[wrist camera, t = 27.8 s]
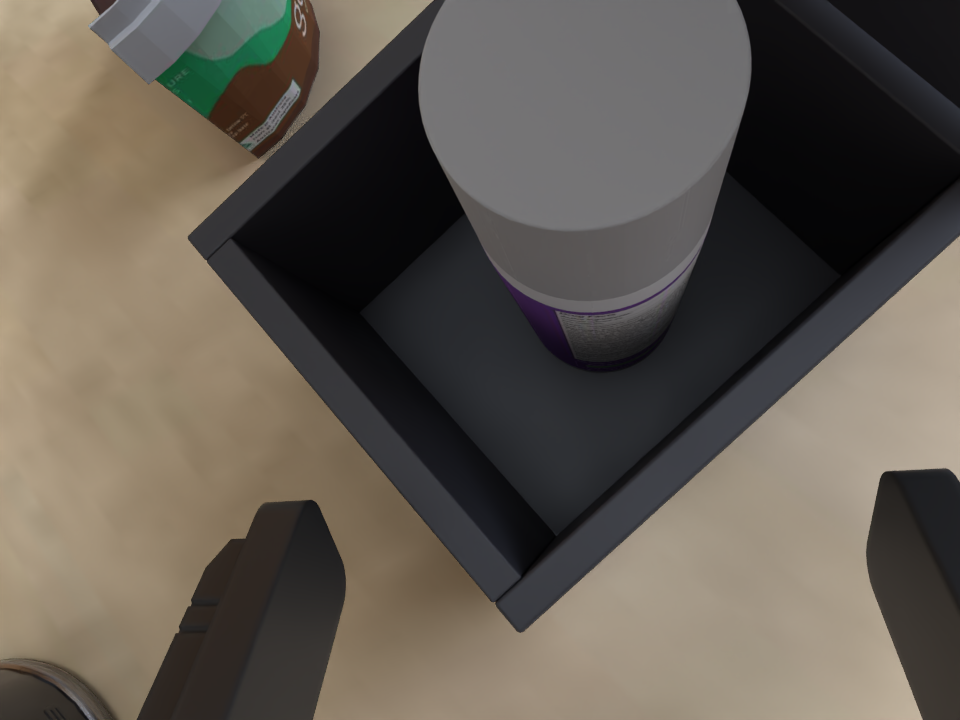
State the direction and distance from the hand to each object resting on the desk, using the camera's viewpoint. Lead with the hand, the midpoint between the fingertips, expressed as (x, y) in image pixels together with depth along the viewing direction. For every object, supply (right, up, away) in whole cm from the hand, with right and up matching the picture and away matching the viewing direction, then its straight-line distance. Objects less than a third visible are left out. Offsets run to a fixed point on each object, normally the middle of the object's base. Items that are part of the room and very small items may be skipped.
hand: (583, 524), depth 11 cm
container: (+2, +4, +14) cm, 15 cm away
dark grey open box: (+2, +4, +15) cm, 15 cm away
